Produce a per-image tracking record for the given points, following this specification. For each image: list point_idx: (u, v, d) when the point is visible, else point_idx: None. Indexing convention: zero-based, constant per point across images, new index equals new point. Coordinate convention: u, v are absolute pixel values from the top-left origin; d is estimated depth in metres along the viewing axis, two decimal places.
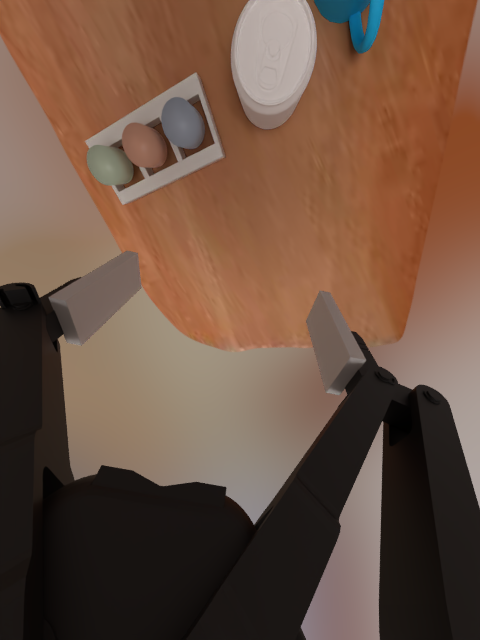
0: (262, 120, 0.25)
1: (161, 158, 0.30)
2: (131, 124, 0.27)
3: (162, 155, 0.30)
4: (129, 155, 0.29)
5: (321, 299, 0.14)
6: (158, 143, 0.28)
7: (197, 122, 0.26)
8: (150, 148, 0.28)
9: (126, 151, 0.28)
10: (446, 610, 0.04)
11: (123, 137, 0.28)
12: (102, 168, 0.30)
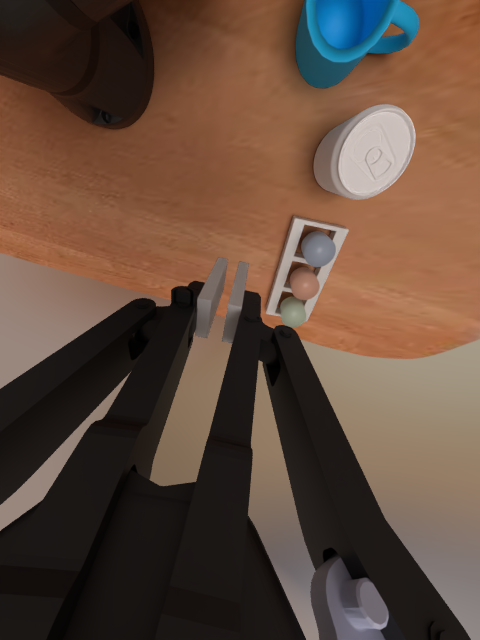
0: None
1: (316, 278, 0.37)
2: (294, 284, 0.36)
3: (315, 275, 0.37)
4: (303, 298, 0.37)
5: (238, 268, 0.16)
6: (311, 274, 0.36)
7: (330, 239, 0.31)
8: (312, 282, 0.36)
9: (300, 298, 0.37)
10: (332, 500, 0.05)
11: (294, 294, 0.37)
12: (294, 319, 0.40)
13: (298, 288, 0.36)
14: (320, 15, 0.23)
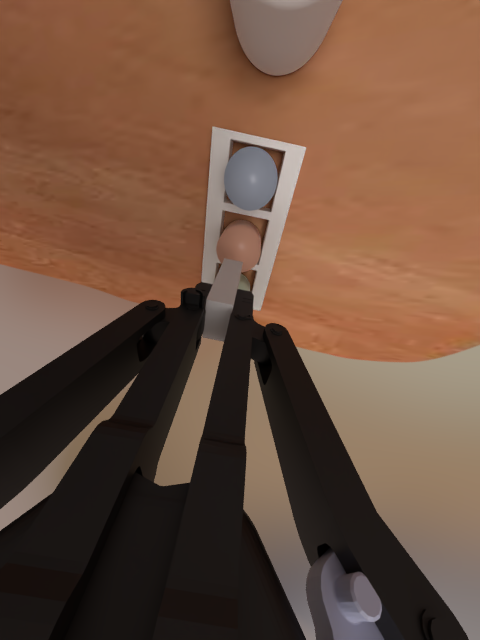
0: (340, 1, 0.13)
1: (259, 236, 0.23)
2: (218, 244, 0.22)
3: (257, 232, 0.23)
4: None
5: (231, 266, 0.16)
6: (247, 227, 0.21)
7: (264, 151, 0.17)
8: (247, 240, 0.21)
9: None
10: (325, 496, 0.05)
11: (222, 262, 0.23)
12: None
13: (227, 252, 0.22)
14: None
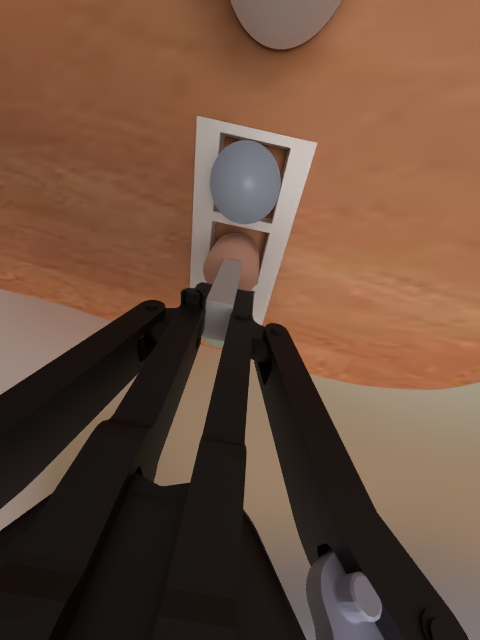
0: None
1: (256, 253, 0.18)
2: (205, 264, 0.17)
3: (254, 248, 0.18)
4: None
5: (231, 266, 0.16)
6: (241, 243, 0.17)
7: (263, 147, 0.13)
8: (241, 260, 0.17)
9: None
10: (325, 496, 0.05)
11: None
12: None
13: (216, 273, 0.18)
14: None
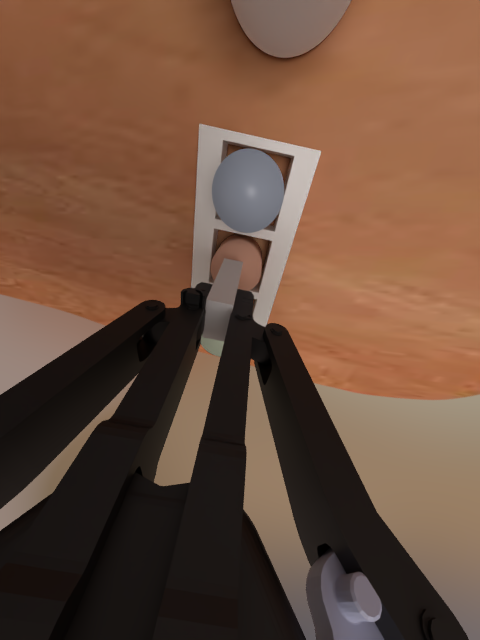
0: None
1: (259, 253, 0.20)
2: (212, 262, 0.19)
3: (257, 248, 0.20)
4: None
5: (231, 266, 0.16)
6: (246, 243, 0.19)
7: (266, 155, 0.12)
8: (245, 259, 0.18)
9: None
10: (325, 496, 0.05)
11: None
12: (223, 343, 0.21)
13: None
14: None
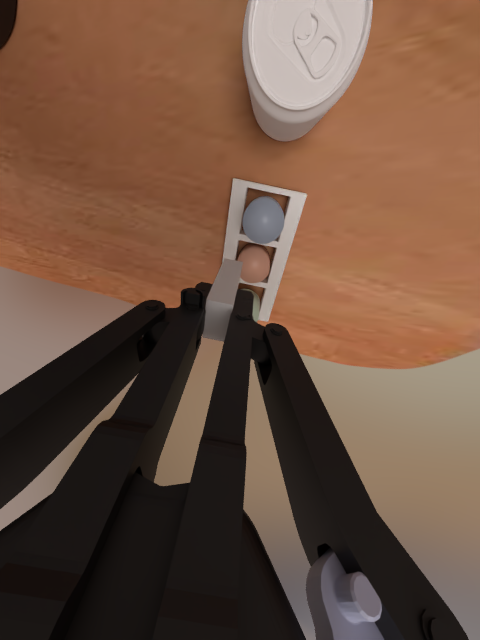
0: None
1: (268, 256, 0.30)
2: None
3: (266, 253, 0.30)
4: (252, 281, 0.30)
5: (231, 266, 0.16)
6: (259, 249, 0.28)
7: (274, 202, 0.22)
8: (259, 259, 0.28)
9: (248, 281, 0.30)
10: (325, 496, 0.05)
11: (240, 275, 0.30)
12: None
13: (244, 268, 0.29)
14: None
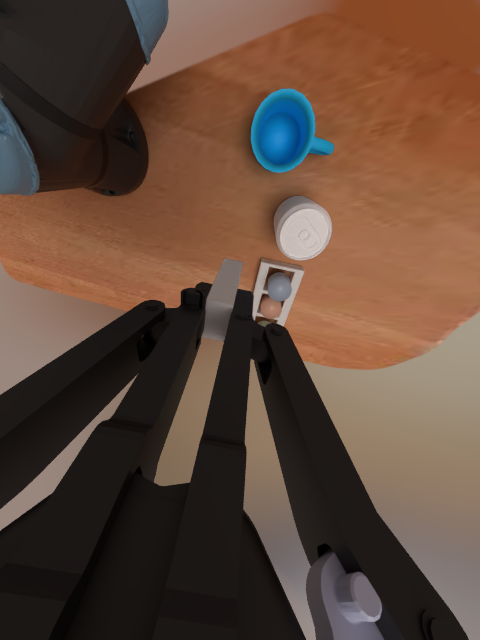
0: None
1: (280, 302, 0.48)
2: (262, 307, 0.47)
3: None
4: (270, 317, 0.48)
5: (231, 266, 0.16)
6: None
7: (286, 281, 0.40)
8: (275, 306, 0.46)
9: (268, 317, 0.48)
10: (325, 496, 0.05)
11: (262, 314, 0.48)
12: None
13: (265, 310, 0.47)
14: (268, 129, 0.32)
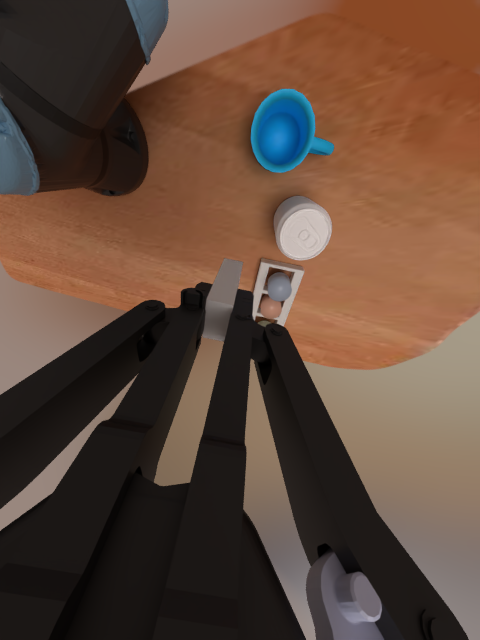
0: None
1: (280, 302, 0.48)
2: (261, 307, 0.47)
3: None
4: (270, 317, 0.48)
5: (231, 266, 0.16)
6: None
7: (286, 281, 0.40)
8: (275, 306, 0.46)
9: (268, 317, 0.48)
10: (325, 496, 0.05)
11: (262, 314, 0.48)
12: None
13: (265, 310, 0.47)
14: (268, 129, 0.32)
